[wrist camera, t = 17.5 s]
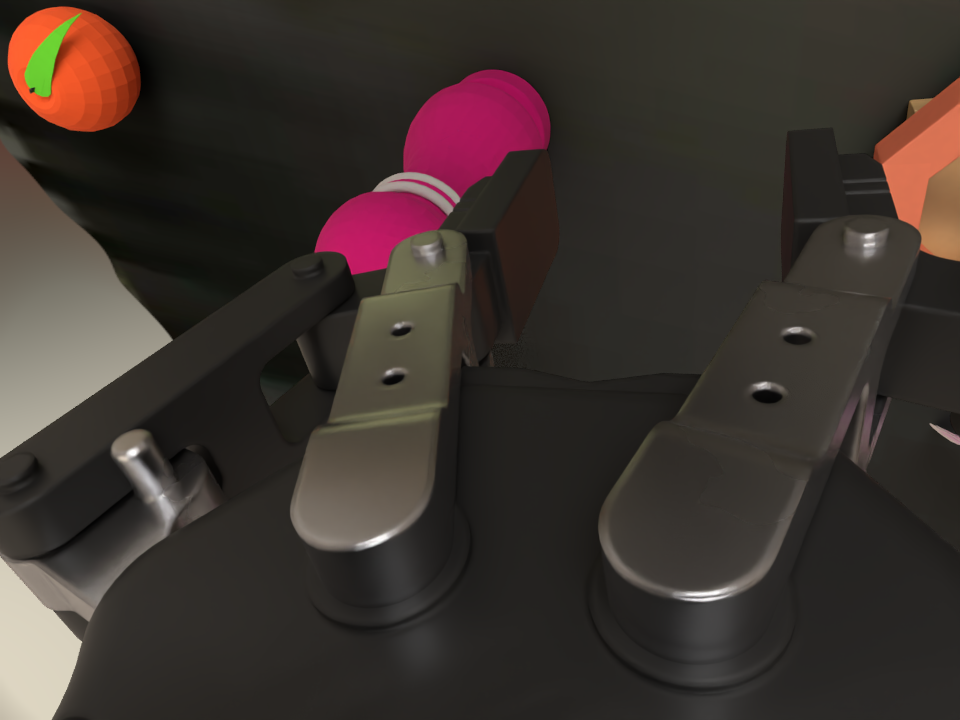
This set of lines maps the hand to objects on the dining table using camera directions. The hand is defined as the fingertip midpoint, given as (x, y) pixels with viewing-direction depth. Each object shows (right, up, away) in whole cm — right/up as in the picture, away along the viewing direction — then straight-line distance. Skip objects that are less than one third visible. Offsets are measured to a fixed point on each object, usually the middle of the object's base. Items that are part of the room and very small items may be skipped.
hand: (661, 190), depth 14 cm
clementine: (-26, +16, +31) cm, 44 cm away
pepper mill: (-2, +10, +27) cm, 29 cm away
